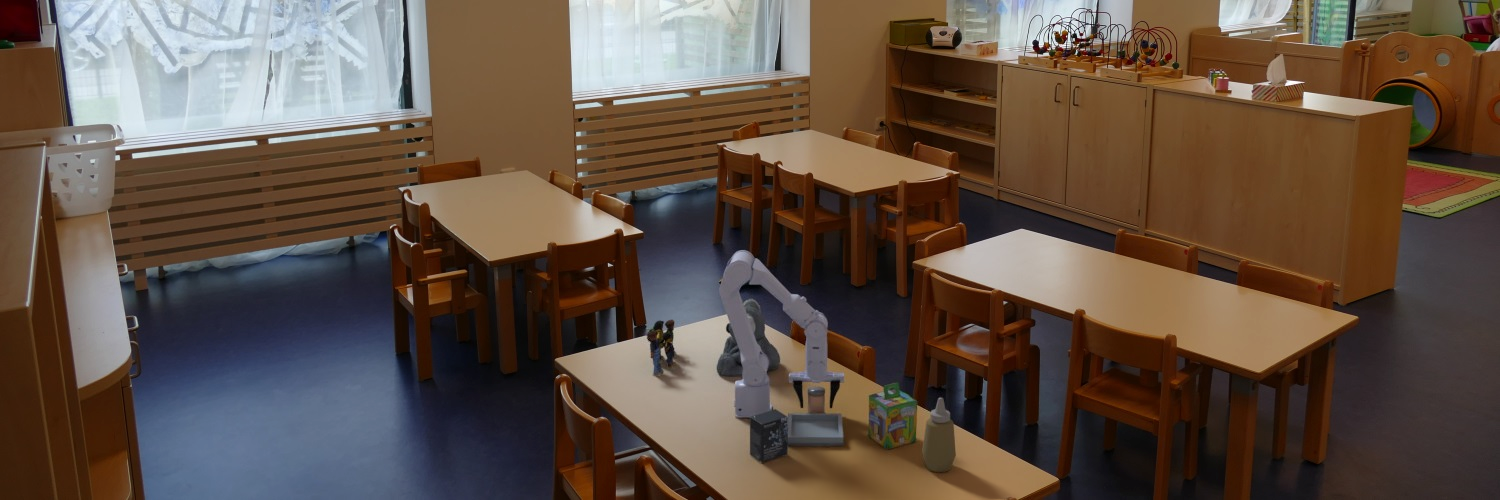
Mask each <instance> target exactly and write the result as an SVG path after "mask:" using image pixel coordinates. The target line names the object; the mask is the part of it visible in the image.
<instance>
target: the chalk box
mask: <svg viewBox="0 0 1500 500" xmlns="http://www.w3.org/2000/svg"><path fill="white" fill-rule="evenodd" d="M917 416H918V401H917V399H914V398H913V397H912V396H910V395H909V394H908V393H906V392H903V391H901V389H900V385H899V382H893V383H890V384H885V385H884V386H883V391H880V392H877V393H873V394H869V395H868V432H867V433H868V437H869V439H870V438H871V439H872V440H873V441H875V442H876V443H878V444H879V445H880V446H882V447H884V448H885V449H886V450H889V449H895V448H898V447H902V446H905V445H909V444H912V443H916V442H917V441H916V440H917V420H918V419H917Z"/></svg>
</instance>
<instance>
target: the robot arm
mask: <svg viewBox="0 0 1500 500" xmlns="http://www.w3.org/2000/svg"><path fill="white" fill-rule="evenodd" d="M748 281H749V283H748V285H759V286H762V287H763V288H764V289H765V290H766V291H767V292H769V293H770V294H771V295H772V296H773V297H774V298H776V299H777V300H778V301H779V302H780V303H781V304H782V310H783V312H784V313H785V315H787V316H788V317H789V318H791V319H792V320H793V321H794V322H795V324H797V326H799V327H800V328H803V329H804V331H803V333H804V335H805V336H806V338H805V339H806V341H805V345H804V346H805V371H800V372H791V373H788V383H789V384H790V383H791V384H792V387H793V389H794V391H795V393H796V395H797V398H798V401H799V404H800V405H799V406H800V409H804V394H803V383H806V382H807V383H809V382H810V383H812V384H821V383H822V382H824V383H826V382H829V387H830V388H829V389H830V390H829V409H833V407H834V406H833V405H834V401H835V398H836V395H837V393H838V392H839V390H840V388H841V383H842V384H844V383H845V374H844V372H832V371H828V336H827V334H828V327H829V326H828V325H829V323H828V319H827V317H826V316H825V314H824V313H823V312H820V311H819V310H817V309H814V308H813V307H812V306H811V305H810V304H809V303H808V302H807V298H806V297H805V296H801V295H799V294H797V293H795V294H794V293H791V292H790V291H789V290H788V289H787V288H786V287H785V285H783V284H782V283H781V282H780V281H779V279H778V278H777V277H775V276H774V275H773V273H771V271H770V270H769V269H768V268H767V267H766V266H765V264H763V263H762V262H761V260H760V259H758V258H757V257H756V258H755V257H754V254H752V253H751V252H750V251H748V250H745V249H743V250H742V249H741V250H737V251H736V252H735V253H733V254H732V256H731V258H730V259H729V260H728V261H727V264H726V267H725V269H724V272H723V276H722V278H721V281H720V282H721V283H720V285H719V288H718V293H719V297H720V298H721V302H722V305H723V308H724V310H725V313H726V316H727V319H728V321H729V322H728V323H730V325H731V328H732V330H733V333H734V336H735V339H736V342H737V344H738V347H739V350H740V354H741V363H742V366H743V373H742V375H741V376H742V379H740V380H735V383H734V403H733V404H734V408H735V411H734V412H735V413H734V414H735V415H734V416H735V418H748V419H750V416H754V415H758V414H761V413H765V412H768V411H771V410H773V404H772V403H771V394H770V392H771V385H770V383H771V382H770V377H769V376H768V374H767V371H768V370H767V369H768V366H769V359H768V357H767V356H766V355H765V354H764V353H763V352H762V350H761V347H760V346H759V345H758V344H757V342H756V339H755V336H754V333H753V330H752V327H751V324H750V322H749V319H748V316H747V313H746V310H745V307H744V301H743V299H742V296H741V294H740V293H741V292H740V289H741V287H742V286H743V285H745V283H747V282H748Z"/></svg>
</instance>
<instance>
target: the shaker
mask: <svg viewBox="0 0 1500 500" xmlns="http://www.w3.org/2000/svg"><path fill="white" fill-rule="evenodd" d="M825 396H826V388H825V387H823V386H819V385H813V386H809V387H808V388H807V413H825V409H826V406H825V405H826V404H825V398H826V397H825Z"/></svg>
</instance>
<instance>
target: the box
mask: <svg viewBox="0 0 1500 500" xmlns="http://www.w3.org/2000/svg"><path fill="white" fill-rule="evenodd" d="M788 449H789V446H788V415H785V414H784V413H782V412H781V411H779V410H778V409H776V408H774V409H772V410H771V411H768V412H765V413H761V414H758V415H754V416H750V418H749V455H750V456H752V457H753V458H754V459H755V460H757V461H758V462H759V463H762V464H763V463H765V462H768V461H771V460H775V459H777V458H778V459H779V458H781V457H784V456H788V454H789V453H788V451H789V450H788Z"/></svg>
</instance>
